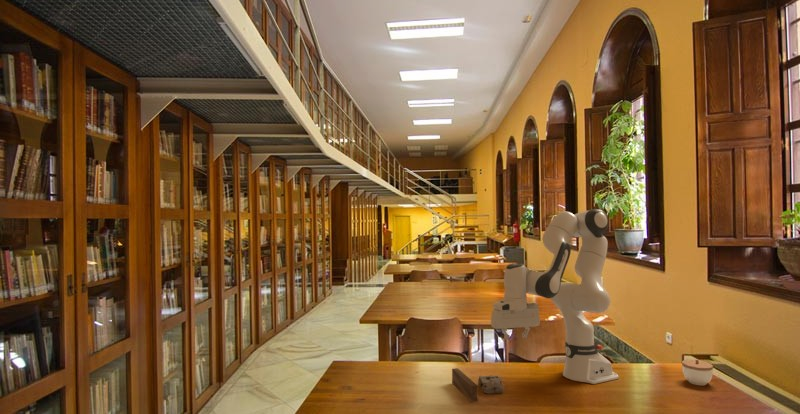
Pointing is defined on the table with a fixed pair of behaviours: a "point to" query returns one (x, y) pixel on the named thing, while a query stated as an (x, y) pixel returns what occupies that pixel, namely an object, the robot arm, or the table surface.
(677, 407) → the table surface
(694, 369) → the lidded jar
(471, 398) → the board
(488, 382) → the stone
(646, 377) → the table surface
